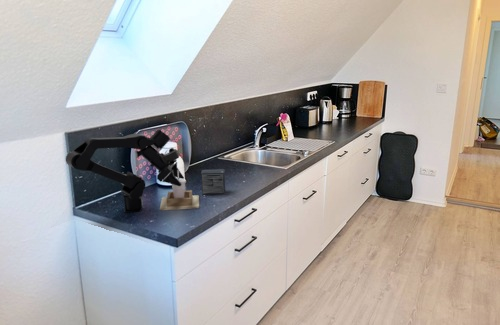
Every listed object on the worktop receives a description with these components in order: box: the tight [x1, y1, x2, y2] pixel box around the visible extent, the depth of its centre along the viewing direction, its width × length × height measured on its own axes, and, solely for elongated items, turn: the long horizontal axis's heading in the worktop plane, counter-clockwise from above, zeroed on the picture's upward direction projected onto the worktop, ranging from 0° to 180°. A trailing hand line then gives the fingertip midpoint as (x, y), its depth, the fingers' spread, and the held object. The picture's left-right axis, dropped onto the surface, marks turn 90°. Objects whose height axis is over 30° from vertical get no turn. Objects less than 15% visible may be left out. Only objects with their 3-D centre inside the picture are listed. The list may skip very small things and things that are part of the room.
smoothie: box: [171, 169, 187, 198], centre depth 173 cm, size 6×6×14 cm
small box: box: [200, 168, 226, 196], centre depth 187 cm, size 11×6×10 cm, turn 92°
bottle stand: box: [159, 190, 200, 211], centre depth 175 cm, size 16×14×4 cm
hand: (182, 182), depth 173 cm, fingers open, 9 cm apart
